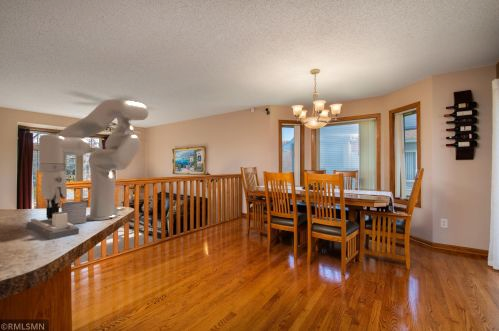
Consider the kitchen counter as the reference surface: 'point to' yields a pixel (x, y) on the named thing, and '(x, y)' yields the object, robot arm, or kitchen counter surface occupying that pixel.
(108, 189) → the robot arm
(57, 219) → the fader tab
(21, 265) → the kitchen counter surface
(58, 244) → the kitchen counter surface
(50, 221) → the console board
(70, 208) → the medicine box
